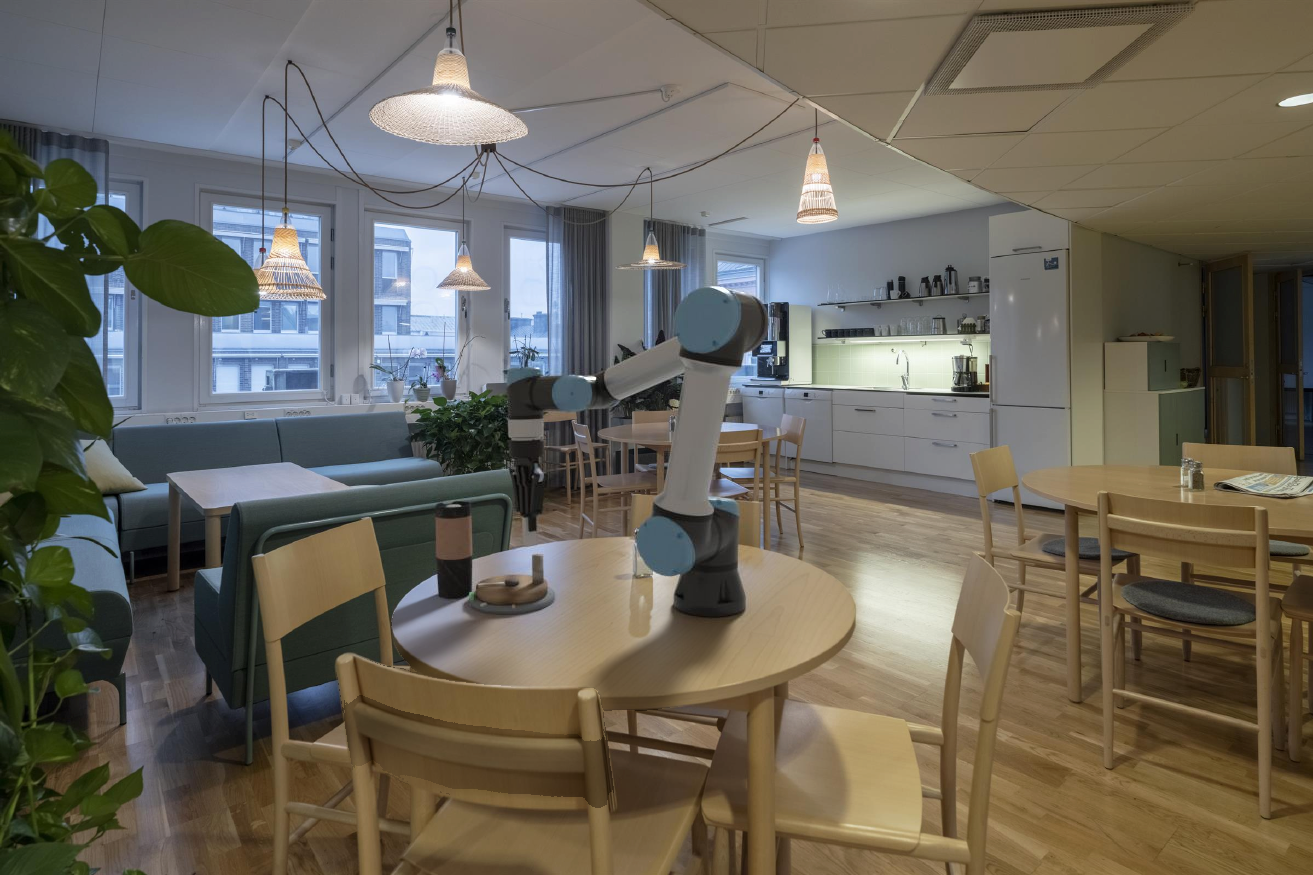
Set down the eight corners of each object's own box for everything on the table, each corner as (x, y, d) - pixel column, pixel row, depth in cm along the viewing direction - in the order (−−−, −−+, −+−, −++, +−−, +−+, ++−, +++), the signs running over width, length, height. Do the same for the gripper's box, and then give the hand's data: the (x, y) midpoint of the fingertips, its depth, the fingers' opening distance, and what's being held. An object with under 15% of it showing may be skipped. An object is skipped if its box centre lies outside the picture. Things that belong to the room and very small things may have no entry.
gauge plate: (569, 593, 162) (569, 585, 162) (525, 619, 145) (525, 610, 145) (500, 584, 168) (500, 576, 168) (450, 607, 152) (450, 599, 152)
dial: (544, 581, 166) (543, 546, 165) (551, 601, 151) (550, 563, 150) (475, 585, 162) (475, 550, 161) (476, 607, 148) (475, 568, 147)
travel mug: (463, 600, 157) (461, 508, 155) (430, 598, 158) (428, 506, 156) (479, 589, 164) (477, 501, 162) (447, 587, 166) (445, 500, 164)
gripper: (556, 438, 156) (560, 547, 158) (527, 436, 167) (531, 538, 169) (525, 441, 152) (529, 553, 154) (497, 438, 162) (501, 543, 164)
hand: (530, 545), depth 161 cm, fingers closed
